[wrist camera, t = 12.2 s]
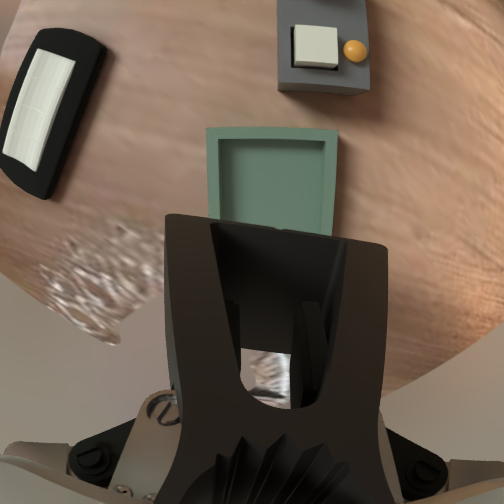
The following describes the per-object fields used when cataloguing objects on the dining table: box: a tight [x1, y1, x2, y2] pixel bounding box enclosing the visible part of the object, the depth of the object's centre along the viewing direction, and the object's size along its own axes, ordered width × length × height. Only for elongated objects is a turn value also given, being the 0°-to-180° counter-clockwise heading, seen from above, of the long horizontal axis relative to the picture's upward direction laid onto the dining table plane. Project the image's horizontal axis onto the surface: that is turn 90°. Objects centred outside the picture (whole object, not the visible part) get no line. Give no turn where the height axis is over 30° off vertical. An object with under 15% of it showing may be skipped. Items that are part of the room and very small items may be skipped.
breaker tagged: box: [293, 25, 338, 71], centre depth 19 cm, size 3×3×4 cm
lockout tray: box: [206, 127, 338, 236], centre depth 28 cm, size 11×14×2 cm
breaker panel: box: [277, 0, 370, 96], centre depth 19 cm, size 7×13×6 cm, turn 0°
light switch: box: [0, 28, 107, 200], centre depth 25 cm, size 20×3×14 cm
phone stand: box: [153, 214, 396, 504], centre depth 8 cm, size 9×6×12 cm, turn 82°
